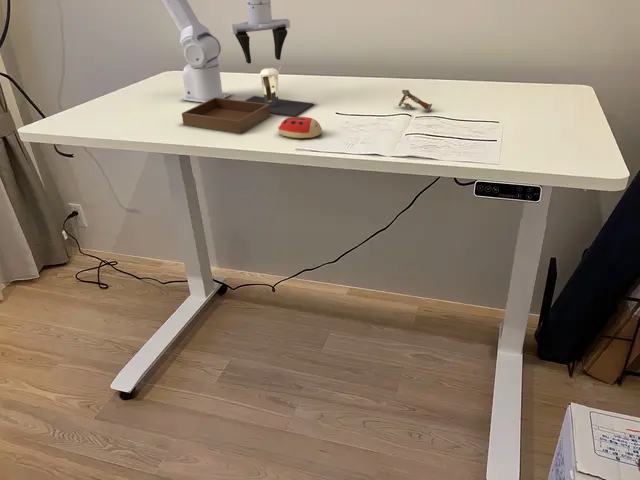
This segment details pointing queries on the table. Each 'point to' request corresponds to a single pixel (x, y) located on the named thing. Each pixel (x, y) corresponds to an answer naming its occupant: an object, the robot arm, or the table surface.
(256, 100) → the mouse pad
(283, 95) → the table surface
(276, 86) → the milkshake
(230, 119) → the tray
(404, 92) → the wooden post with brackets
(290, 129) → the ladybug figurine
